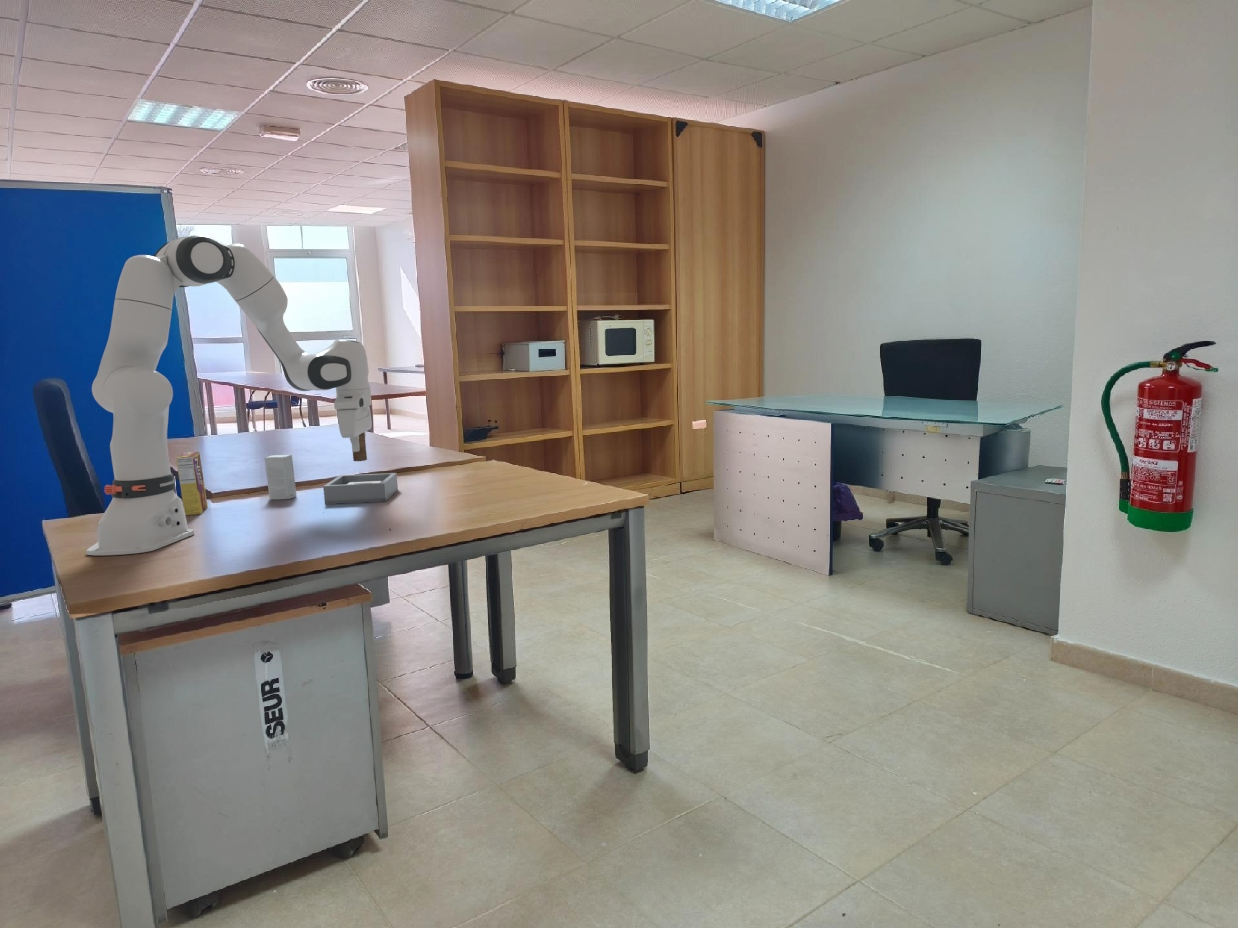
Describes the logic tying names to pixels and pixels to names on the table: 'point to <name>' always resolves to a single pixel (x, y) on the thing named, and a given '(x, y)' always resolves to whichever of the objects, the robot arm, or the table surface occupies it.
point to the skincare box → (280, 477)
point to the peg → (362, 453)
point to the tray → (360, 488)
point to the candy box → (191, 483)
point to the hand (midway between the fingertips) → (359, 449)
